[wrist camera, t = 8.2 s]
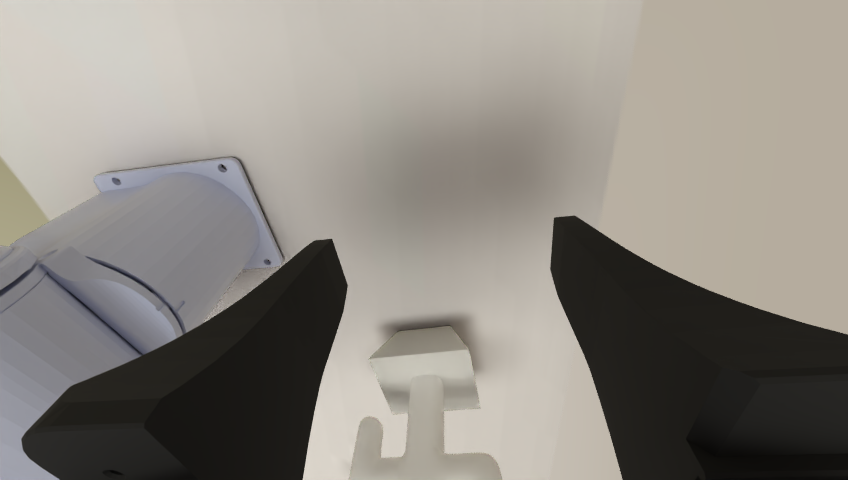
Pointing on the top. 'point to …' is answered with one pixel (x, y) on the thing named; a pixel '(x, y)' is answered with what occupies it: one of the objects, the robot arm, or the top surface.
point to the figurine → (422, 409)
